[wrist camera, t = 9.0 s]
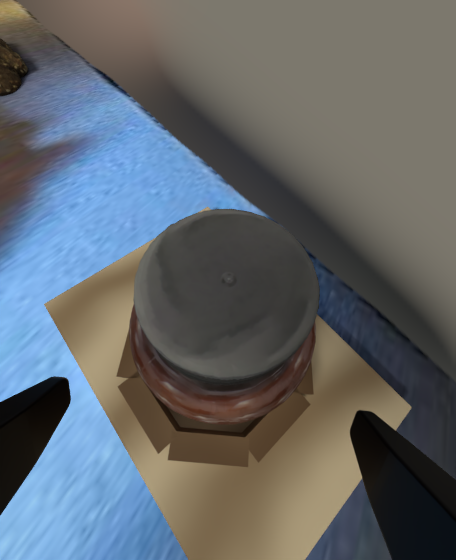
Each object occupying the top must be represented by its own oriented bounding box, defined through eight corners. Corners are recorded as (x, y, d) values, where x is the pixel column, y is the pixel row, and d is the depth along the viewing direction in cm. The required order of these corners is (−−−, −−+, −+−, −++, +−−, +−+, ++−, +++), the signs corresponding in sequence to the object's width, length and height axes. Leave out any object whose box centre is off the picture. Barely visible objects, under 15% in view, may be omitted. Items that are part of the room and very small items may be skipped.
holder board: (400, 406, 15) (433, 409, 13) (238, 630, 11) (244, 694, 9) (208, 214, 21) (207, 192, 19) (53, 308, 17) (27, 295, 15)
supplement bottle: (285, 356, 15) (426, 283, 5) (219, 435, 13) (235, 573, 3) (220, 295, 17) (228, 146, 7) (152, 356, 15) (18, 276, 5)
